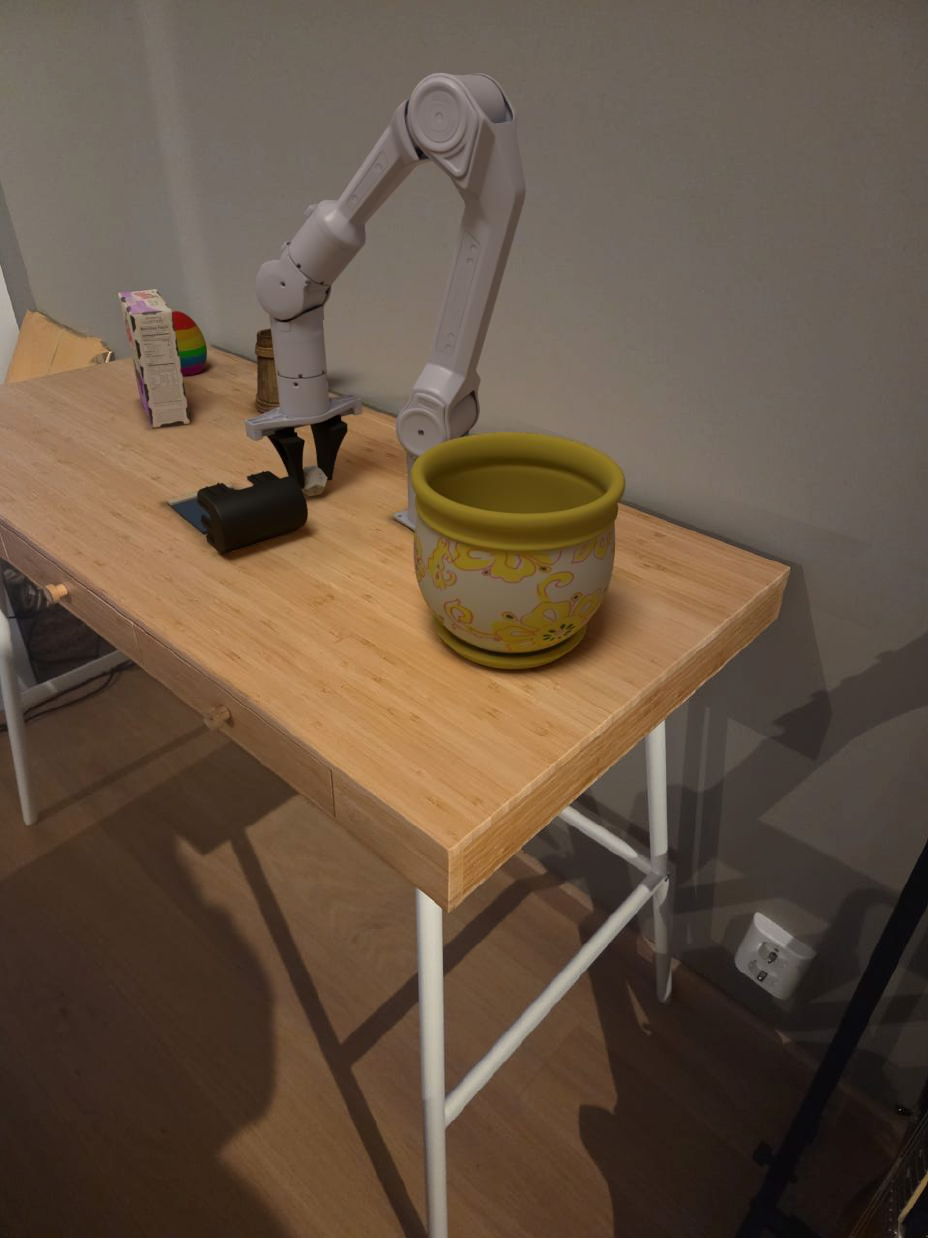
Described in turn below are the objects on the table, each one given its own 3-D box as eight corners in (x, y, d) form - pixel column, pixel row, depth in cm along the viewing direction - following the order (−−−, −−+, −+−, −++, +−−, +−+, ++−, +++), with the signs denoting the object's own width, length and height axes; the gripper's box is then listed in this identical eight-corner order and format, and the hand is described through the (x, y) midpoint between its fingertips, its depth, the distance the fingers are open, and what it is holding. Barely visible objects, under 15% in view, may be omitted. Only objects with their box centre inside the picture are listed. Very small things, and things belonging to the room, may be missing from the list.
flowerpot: (641, 628, 79) (667, 468, 70) (524, 718, 68) (537, 541, 59) (497, 564, 89) (503, 416, 80) (374, 633, 78) (365, 471, 69)
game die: (293, 491, 102) (290, 468, 101) (318, 483, 104) (316, 461, 103) (307, 500, 100) (305, 477, 99) (334, 492, 102) (332, 470, 101)
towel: (266, 514, 98) (266, 509, 98) (203, 534, 94) (202, 529, 94) (228, 487, 105) (227, 481, 104) (167, 504, 100) (166, 499, 100)
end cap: (229, 566, 88) (219, 509, 84) (201, 541, 93) (190, 485, 89) (311, 539, 93) (306, 484, 89) (281, 516, 98) (274, 463, 94)
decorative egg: (197, 361, 148) (187, 303, 143) (218, 372, 143) (209, 312, 138) (153, 370, 144) (141, 310, 138) (173, 381, 139) (161, 320, 133)
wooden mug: (349, 402, 131) (341, 282, 121) (270, 419, 125) (255, 293, 115) (322, 387, 137) (313, 272, 127) (246, 403, 130) (229, 282, 121)
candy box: (139, 400, 131) (116, 290, 122) (177, 395, 133) (158, 287, 124) (151, 429, 121) (127, 312, 112) (192, 423, 123) (172, 308, 114)
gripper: (336, 351, 100) (344, 457, 108) (226, 374, 93) (242, 486, 100) (369, 365, 96) (375, 474, 103) (256, 390, 88) (271, 506, 96)
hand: (312, 481), depth 102 cm, fingers closed on game die, 3 cm apart
